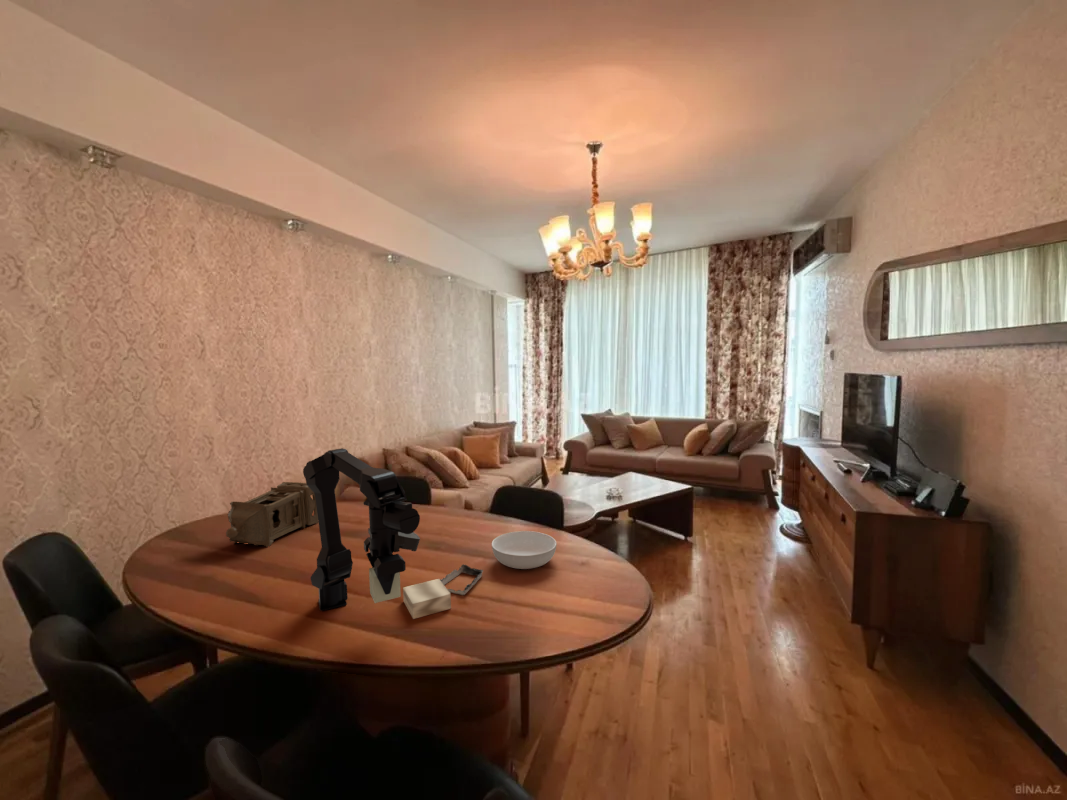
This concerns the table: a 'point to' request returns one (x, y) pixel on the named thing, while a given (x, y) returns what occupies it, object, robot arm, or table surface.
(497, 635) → the table surface
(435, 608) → the beige square block
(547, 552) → the serving bowl
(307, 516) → the toy tower
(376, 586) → the green cube
